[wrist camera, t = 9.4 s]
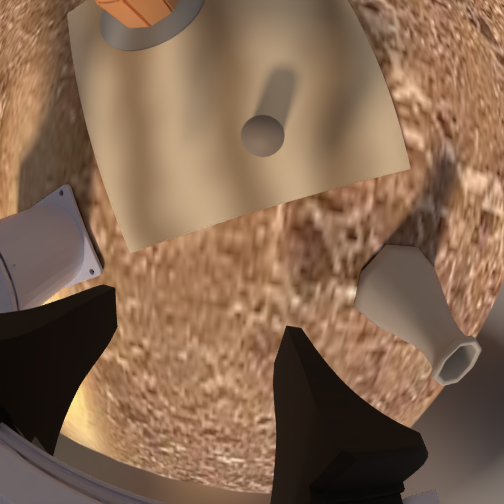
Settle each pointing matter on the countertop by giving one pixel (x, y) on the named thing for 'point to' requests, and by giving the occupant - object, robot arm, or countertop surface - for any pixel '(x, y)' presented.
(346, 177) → the board
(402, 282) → the flask
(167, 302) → the countertop surface
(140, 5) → the orange domed tapered piece
